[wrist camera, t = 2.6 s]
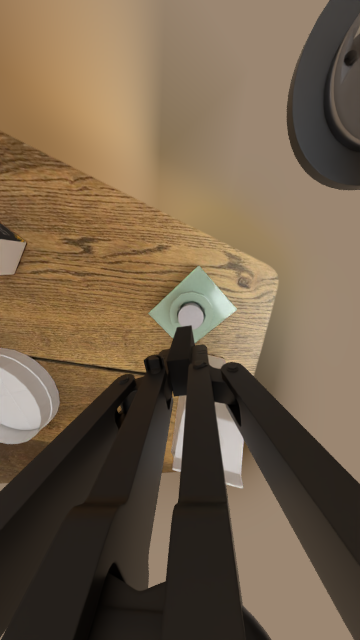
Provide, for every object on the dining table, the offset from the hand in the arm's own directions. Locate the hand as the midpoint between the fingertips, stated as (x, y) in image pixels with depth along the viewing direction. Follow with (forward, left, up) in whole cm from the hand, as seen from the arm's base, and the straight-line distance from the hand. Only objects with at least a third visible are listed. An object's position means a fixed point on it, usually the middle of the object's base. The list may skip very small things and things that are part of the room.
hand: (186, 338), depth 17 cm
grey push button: (0, 0, -9) cm, 9 cm away
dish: (+45, -13, -15) cm, 49 cm away
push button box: (0, 0, -15) cm, 15 cm away
